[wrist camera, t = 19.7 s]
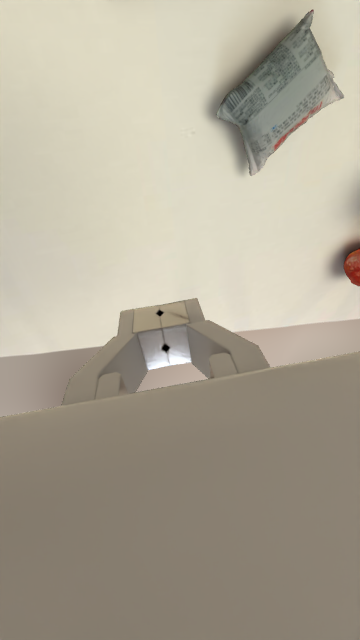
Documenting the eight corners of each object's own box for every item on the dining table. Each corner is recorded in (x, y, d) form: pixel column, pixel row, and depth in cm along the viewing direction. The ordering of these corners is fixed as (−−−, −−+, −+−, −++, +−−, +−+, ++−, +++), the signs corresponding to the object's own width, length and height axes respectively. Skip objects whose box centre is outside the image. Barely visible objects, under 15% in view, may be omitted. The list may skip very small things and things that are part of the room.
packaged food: (328, 101, 30) (357, 95, 26) (246, 175, 34) (260, 179, 30) (299, 15, 26) (328, -9, 22) (208, 110, 29) (219, 104, 25)
